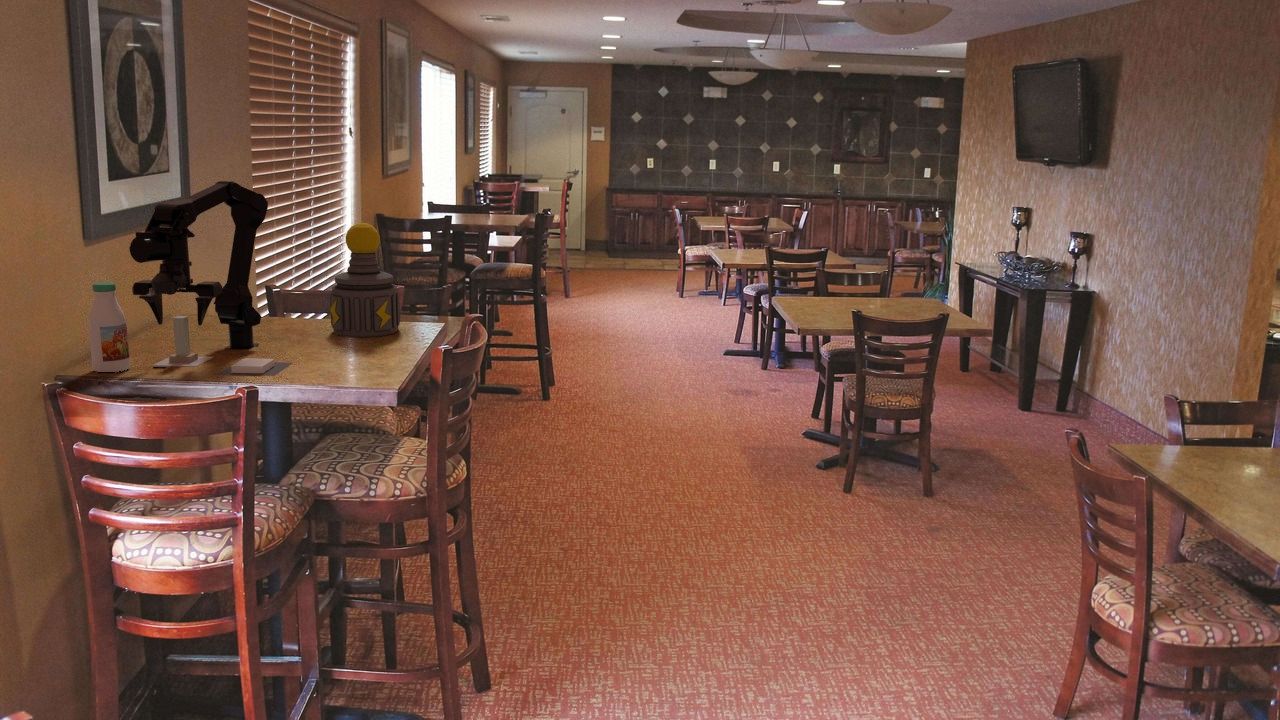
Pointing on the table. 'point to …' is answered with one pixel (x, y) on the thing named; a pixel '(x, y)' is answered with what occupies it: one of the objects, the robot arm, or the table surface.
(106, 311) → the milk bottle
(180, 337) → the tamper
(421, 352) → the table surface
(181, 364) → the pad
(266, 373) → the mat
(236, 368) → the tile
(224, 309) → the robot arm
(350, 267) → the decorative lamp
